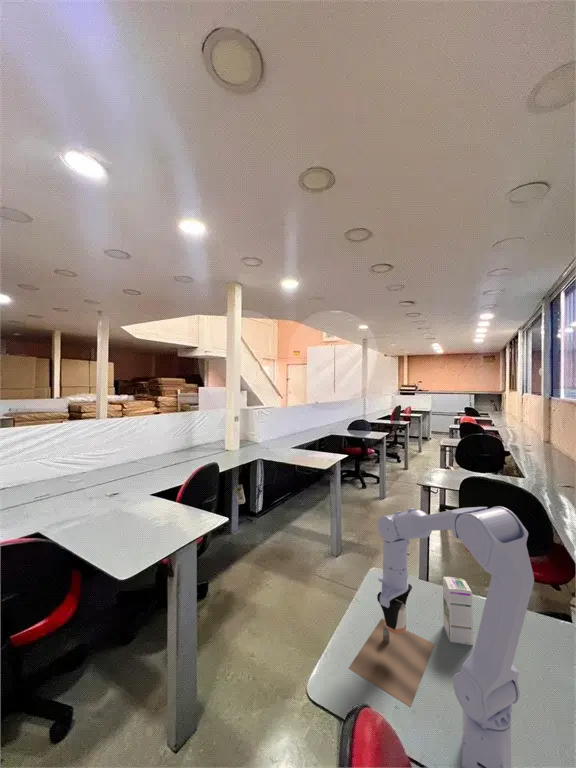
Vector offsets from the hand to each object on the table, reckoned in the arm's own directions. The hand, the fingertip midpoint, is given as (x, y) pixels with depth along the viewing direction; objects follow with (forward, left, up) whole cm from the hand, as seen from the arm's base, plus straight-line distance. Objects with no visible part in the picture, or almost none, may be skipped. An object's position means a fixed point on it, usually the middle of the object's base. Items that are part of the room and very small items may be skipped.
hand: (394, 620), depth 75 cm
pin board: (-1, 0, -9) cm, 9 cm away
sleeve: (0, 0, -1) cm, 1 cm away
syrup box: (+16, -11, -9) cm, 22 cm away
